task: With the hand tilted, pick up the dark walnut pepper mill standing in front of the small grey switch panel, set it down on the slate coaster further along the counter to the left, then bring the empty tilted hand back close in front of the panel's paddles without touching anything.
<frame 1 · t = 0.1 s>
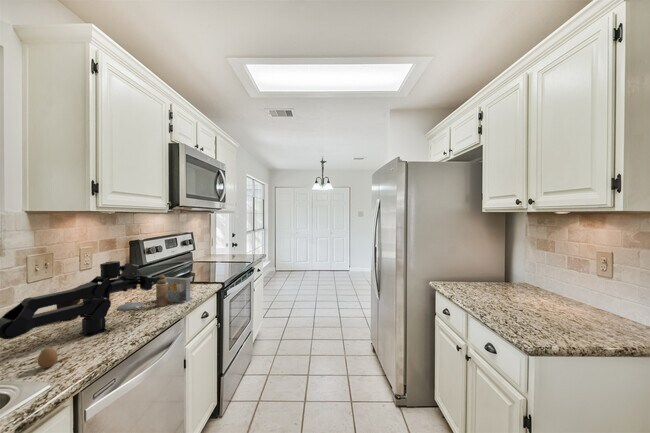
hand: (152, 277, 137), 17 cm above the countertop, tool horizontal, fingers open, 9 cm apart
coaster: (131, 306, 144), on the countertop
coffee mug: (72, 318, 129), on the countertop
egg: (48, 367, 88), on the countertop
switch panel: (175, 300, 155), on the countertop
pepper mill: (162, 305, 146), on the countertop
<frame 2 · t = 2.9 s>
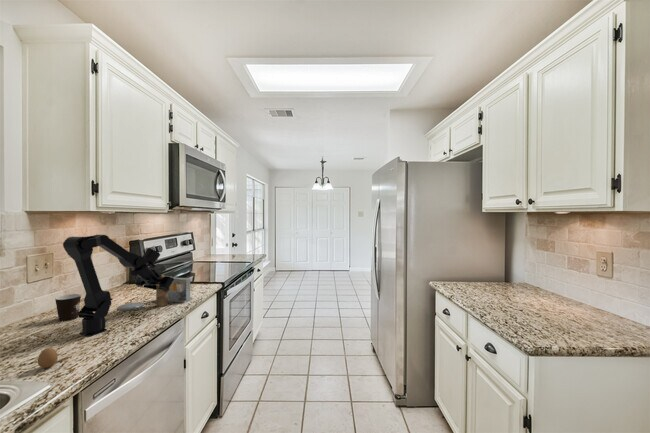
hand: (164, 290, 148), 8 cm above the countertop, tool tilted 45°, fingers closed on pepper mill, 5 cm apart
pepper mill: (162, 305, 146), on the countertop, touching gripper
everything else where it was.
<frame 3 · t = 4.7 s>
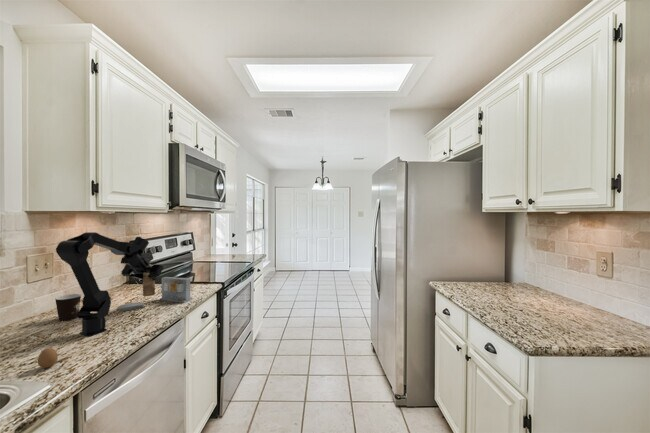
hand: (150, 279, 147), 13 cm above the countertop, tool tilted 45°, fingers closed on pepper mill, 5 cm apart
pepper mill: (148, 294, 146), point 6 cm above the countertop, touching gripper
everything else where it was.
when the fingers open (9 cm above the countertop, at t = 7.0 s): pepper mill stays where it is, resting on coaster.
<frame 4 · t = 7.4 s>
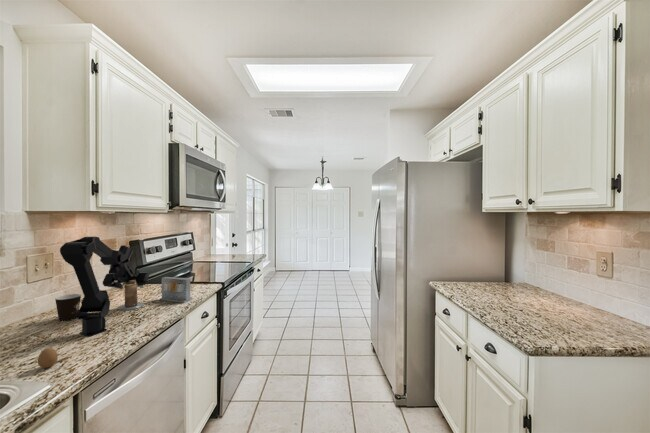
hand: (132, 287, 145), 9 cm above the countertop, tool tilted 45°, fingers open, 9 cm apart
pepper mill: (131, 305, 144), point 1 cm above the countertop, touching coaster
everything else where it was.
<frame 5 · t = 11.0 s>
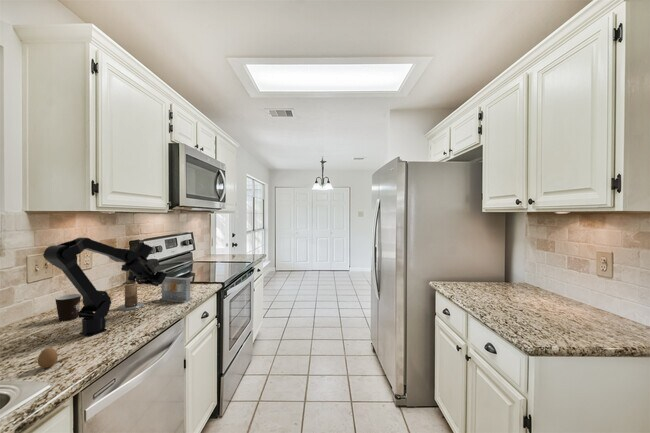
hand: (157, 285, 144), 11 cm above the countertop, tool tilted 45°, fingers closed
nothing on the countertop moved.
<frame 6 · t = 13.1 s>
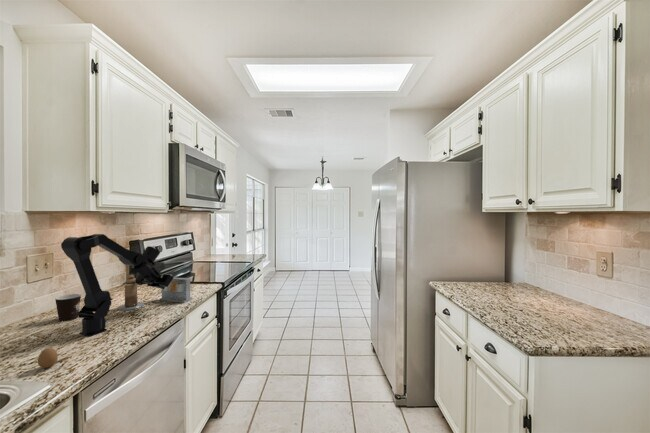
hand: (163, 288, 147), 9 cm above the countertop, tool tilted 45°, fingers closed
nothing on the countertop moved.
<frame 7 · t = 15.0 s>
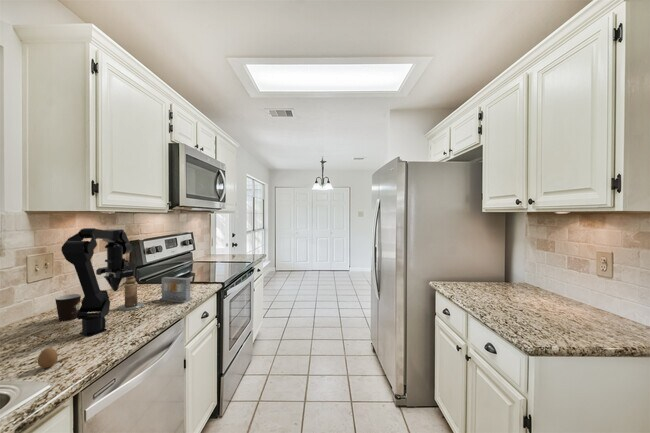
hand: (115, 291, 129), 12 cm above the countertop, tool pointing down, fingers closed
nothing on the countertop moved.
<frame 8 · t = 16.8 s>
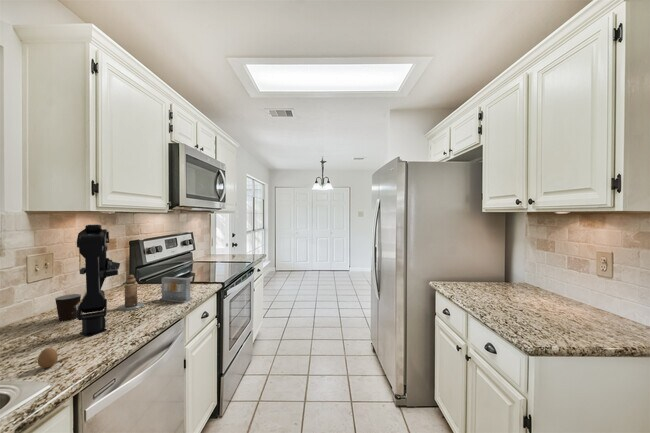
hand: (98, 290, 131), 12 cm above the countertop, tool pointing down, fingers closed
nothing on the countertop moved.
at the end: pepper mill inside the target area on the coaster (0.1 cm from its centre), point 0.6 cm above the coaster's base; pepper mill tilted 0°; pepper mill touching coaster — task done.
